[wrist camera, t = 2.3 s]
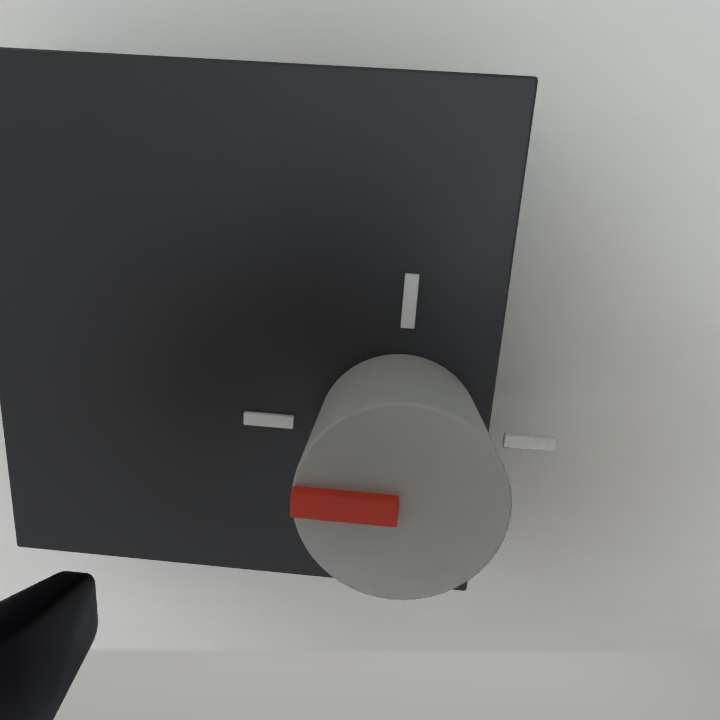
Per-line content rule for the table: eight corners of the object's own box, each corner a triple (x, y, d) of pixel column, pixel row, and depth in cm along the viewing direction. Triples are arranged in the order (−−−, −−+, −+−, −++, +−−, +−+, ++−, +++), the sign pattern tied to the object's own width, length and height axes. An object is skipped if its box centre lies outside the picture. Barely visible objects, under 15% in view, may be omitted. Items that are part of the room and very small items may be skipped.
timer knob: (488, 360, 13) (532, 418, 9) (468, 508, 14) (499, 622, 10) (322, 347, 13) (291, 397, 9) (315, 494, 14) (284, 600, 10)
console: (505, 538, 18) (528, 601, 15) (75, 498, 18) (12, 550, 15) (572, 110, 14) (622, 77, 11) (39, 80, 15) (-51, 41, 12)
